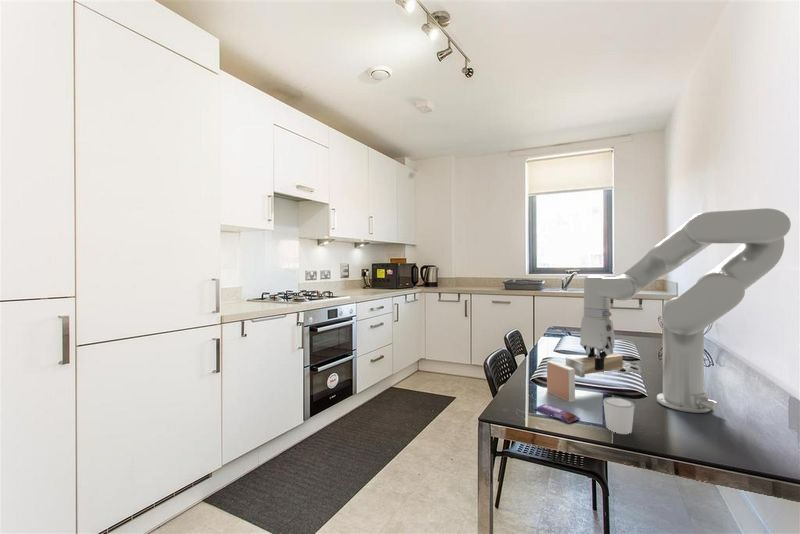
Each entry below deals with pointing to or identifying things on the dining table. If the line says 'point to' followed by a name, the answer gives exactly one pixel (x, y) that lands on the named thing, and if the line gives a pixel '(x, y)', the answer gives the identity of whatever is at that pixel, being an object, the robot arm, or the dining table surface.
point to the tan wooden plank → (588, 364)
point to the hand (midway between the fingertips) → (595, 368)
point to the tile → (561, 380)
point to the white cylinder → (618, 414)
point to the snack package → (557, 413)
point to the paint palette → (629, 368)
